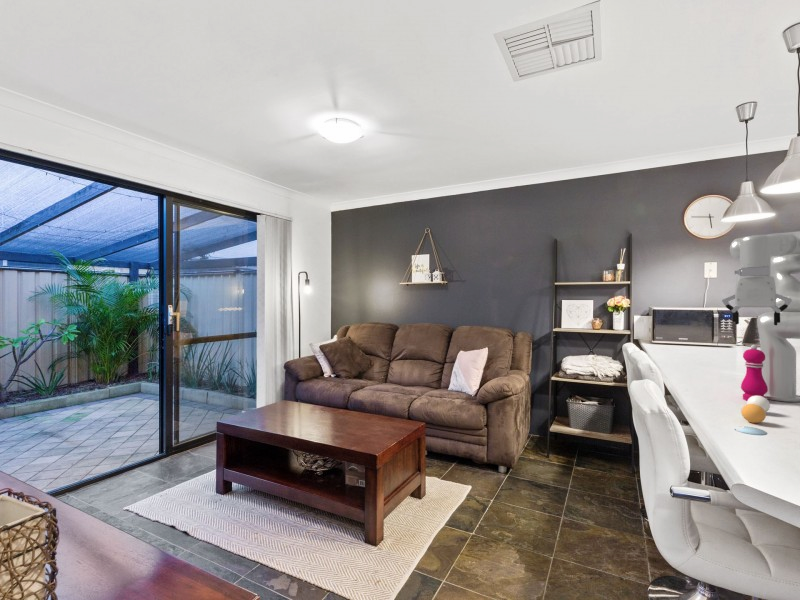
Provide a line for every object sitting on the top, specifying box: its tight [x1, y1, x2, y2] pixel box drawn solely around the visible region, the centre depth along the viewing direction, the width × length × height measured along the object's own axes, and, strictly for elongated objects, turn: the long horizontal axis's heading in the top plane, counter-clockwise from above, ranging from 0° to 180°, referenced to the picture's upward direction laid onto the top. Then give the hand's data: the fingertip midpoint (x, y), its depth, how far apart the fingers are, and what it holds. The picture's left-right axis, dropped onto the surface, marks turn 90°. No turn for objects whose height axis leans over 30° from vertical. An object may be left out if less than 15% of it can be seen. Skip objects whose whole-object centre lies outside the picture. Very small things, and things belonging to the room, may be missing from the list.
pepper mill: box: [740, 344, 768, 402], centre depth 144 cm, size 7×7×20 cm
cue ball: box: [746, 396, 771, 413], centre depth 129 cm, size 6×6×6 cm
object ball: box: [740, 404, 767, 424], centre depth 119 cm, size 6×6×6 cm
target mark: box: [735, 425, 767, 436], centre depth 112 cm, size 7×7×1 cm
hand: (755, 324), depth 133 cm, fingers open, 9 cm apart
